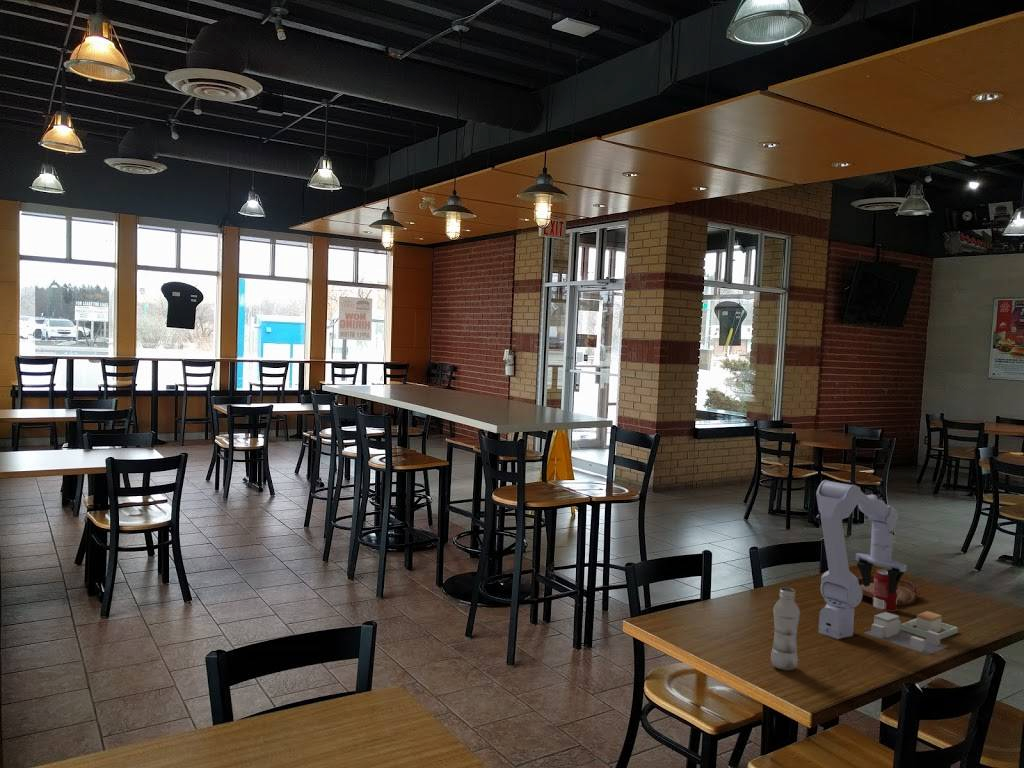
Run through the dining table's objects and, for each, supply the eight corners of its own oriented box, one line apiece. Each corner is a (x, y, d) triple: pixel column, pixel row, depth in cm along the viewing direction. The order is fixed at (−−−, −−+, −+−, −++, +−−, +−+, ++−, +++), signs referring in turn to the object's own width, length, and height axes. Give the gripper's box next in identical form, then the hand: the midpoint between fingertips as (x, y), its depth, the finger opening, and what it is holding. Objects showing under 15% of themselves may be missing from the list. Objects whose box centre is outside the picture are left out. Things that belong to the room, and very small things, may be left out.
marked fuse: (930, 636, 214) (931, 619, 214) (915, 631, 218) (916, 614, 217) (940, 632, 218) (941, 615, 218) (926, 627, 221) (927, 611, 221)
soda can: (883, 614, 234) (885, 575, 233) (867, 606, 240) (869, 569, 240) (901, 612, 236) (903, 574, 235) (885, 605, 242) (887, 568, 241)
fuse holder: (927, 657, 200) (928, 643, 200) (863, 635, 215) (863, 622, 215) (948, 649, 206) (949, 635, 206) (884, 628, 221) (884, 615, 221)
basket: (898, 612, 236) (899, 596, 236) (835, 595, 251) (835, 580, 251) (925, 598, 251) (926, 583, 251) (864, 583, 266) (865, 569, 266)
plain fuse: (886, 637, 212) (887, 619, 211) (873, 632, 215) (874, 615, 215) (898, 633, 215) (899, 616, 215) (884, 628, 218) (885, 611, 218)
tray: (936, 643, 210) (936, 635, 210) (899, 631, 219) (900, 624, 219) (957, 635, 217) (957, 627, 217) (921, 624, 226) (921, 616, 226)
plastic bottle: (790, 662, 194) (794, 585, 193) (802, 674, 187) (805, 594, 186) (766, 662, 194) (769, 585, 193) (776, 673, 187) (780, 594, 186)
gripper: (912, 548, 222) (910, 594, 222) (865, 537, 233) (863, 580, 234) (900, 551, 218) (897, 597, 218) (852, 540, 229) (850, 584, 230)
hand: (879, 589), depth 226 cm, fingers open, 7 cm apart
